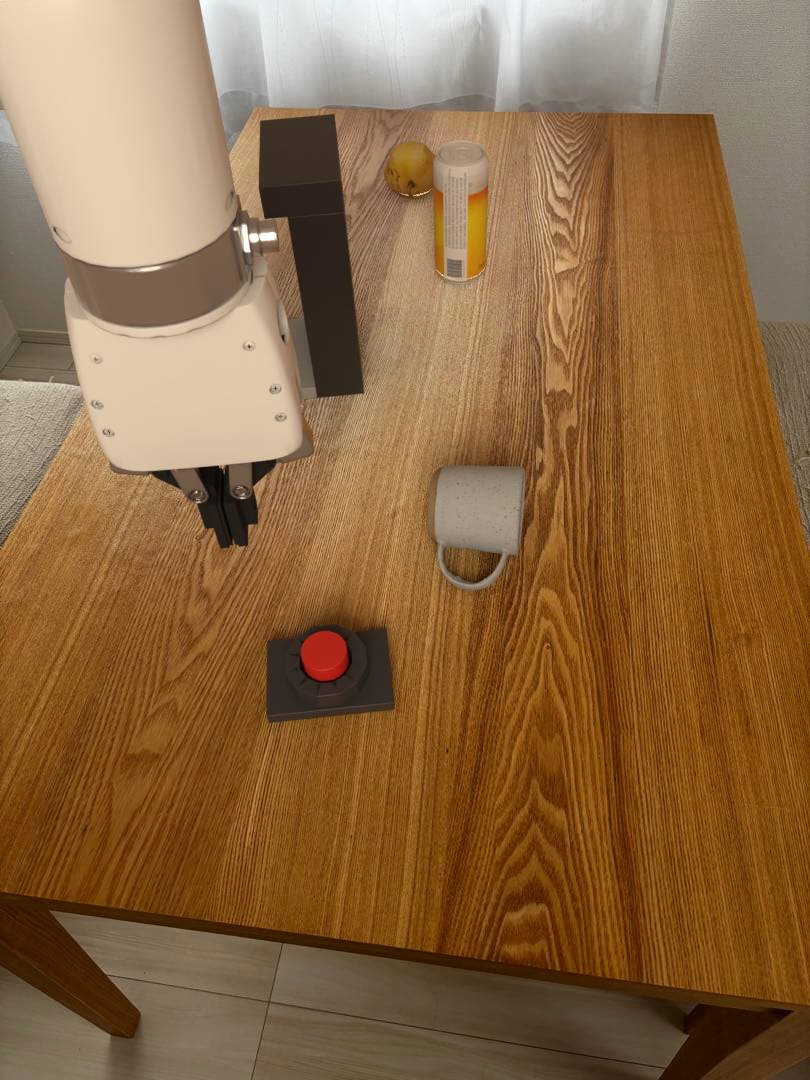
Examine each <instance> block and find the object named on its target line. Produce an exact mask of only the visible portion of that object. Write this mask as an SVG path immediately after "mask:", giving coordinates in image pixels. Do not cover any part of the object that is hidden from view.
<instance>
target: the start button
mask: <svg viewBox="0 0 810 1080" xmlns="http://www.w3.org/2000/svg"><path fill="white" fill-rule="evenodd" d="M301 658H302V661H303V665H304V669H305V671H306V673H307V674H308V675H309V676H310V677H312V678H313V679H315V680H318V681H331V680H334V679H336V678H338V677H339V676H341V675H342V674H343V673H344V672H345V670H346V669H347V667H348V663H349V657H348V651H347V646H346V643H345V641H344V639H343V638H342V637H341V636H340V635H338V634H337V633H334V632H331V631H320V632H317V633H314V634H312V635H311V636H309V637H308V638H307V639H306V640H305V642H304V643H303V645H302V648H301Z"/></svg>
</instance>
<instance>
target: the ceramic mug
mask: <svg viewBox="0 0 810 1080" xmlns="http://www.w3.org/2000/svg"><path fill="white" fill-rule="evenodd" d="M525 488H526V470H525V468H524V467H523V466H517V465H515V466H512V465H511V466H510V465H509V466H507V465H506V466H505V465H471V464H470V465H466V464H451V465H446V466H445V465H444V466H440V467H438V468H437V469H436V470H435V471H434V472H433V474H432V475H431V480H430V484H429V492H428V502H427V531H428V536H429V538H430V539H431V540H432V541H433V543H435V544H437V545H438V548H437V560H438V565H439V566H438V567H439V569H440V573H442V575H443V577H444V578H445V580H447V581H448V583H450V584H451V585H453V586H454V587H456V588H458V589H461V590H465V591H480V590H484V589H486V588H488V587H490V586H491V585H492V584H493V583H495V582H496V581H497V580H498V578H499V577H500V576H501V574H502V572H503V570H504V568H505V565H506V563H507V560H508V557H509V556H517V555H518V554H519V552H520V544H521V540H522V530H523V522H524V509H525V494H526V493H525V492H526V489H525ZM446 548H455V549H465V550H474V551H481V552H485V553H493V554H500V555H501V558H500V560H499V562H498V563H497V565H496V567H495V569H494V570H493V571H492V573H491V574H489V575H488V576H487V577H485V578H483V580H481V581H479V582H473V581H468V580H465V579H463V578H461V577H460V576H459V575H454V574H453V573H452V572H450V571H448V569H447V567H446V566H445V565H446V564H445V558H444V557H445V556H444V554H445V549H446Z"/></svg>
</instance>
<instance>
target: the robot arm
mask: <svg viewBox="0 0 810 1080" xmlns="http://www.w3.org/2000/svg"><path fill="white" fill-rule="evenodd" d="M208 43H209V42H208V39H207V33H206V27H205V22H204V17H203V11H202V7H201V1H200V0H0V111H4V113H5V116H6V118H7V121H8V123H9V127H10V128H11V131H12V134H13V137H14V139H15V142H16V144H17V147H18V150H19V152H20V155H21V157H22V160H23V163H24V165H25V167H26V170H27V173H28V176H29V179H30V181H31V184H32V187H33V189H34V191H35V194H36V196H37V199H38V201H39V204H40V207H41V210H42V212H43V214H44V218H45V220H46V222H47V225H48V228H49V230H50V233H51V237H52V238H53V240H54V242H55V246H56V247H57V250H58V253H59V255H60V256H59V257H60V258H61V261H62V263H63V266H64V269H65V272H66V274H67V277H66V280H65V283H64V295H63V304H64V314H65V322H66V327H67V334H68V338H69V344H70V350H71V354H72V358H73V362H74V368H75V372H76V375H77V379H78V383H79V387H80V391H81V395H82V398H83V401H84V405H85V408H86V412H87V415H88V418H89V420H90V423H91V426H92V429H93V432H94V434H95V438H96V439H97V442H98V444H99V447H100V449H101V450H102V452H103V454H104V456H105V457H106V459H107V460H108V461H109V468H110V470H111V471H112V472H113V473H115V474H118V475H128V476H142V477H150V475H152V476H153V477H154V478H156V479H157V480H159V481H161V482H163V483H166V484H168V485H170V486H172V487H174V488H176V489H179V490H180V491H181V492H182V493H183V495H184V496H185V497H186V500H187V501H188V502H190V503H193V504H196V505H197V508H198V511H199V515H200V517H201V520H202V524H203V527H204V529H205V530H208V529H209V530H210V529H213V531H214V534H215V537H216V540H217V543H218V546H219V547H218V548H219V549H220V550H223V549H230V547H231V546H233V544H234V545H236V546H237V547H239V548H242V547H248V546H249V526H251V525H252V526H253V525H258V524H259V507H258V501H257V496H256V493H255V490H254V487H255V486H256V485H257V484H258V483H259V482H260V481H261V480H263V478H264V477H266V476H267V475H268V474H269V473H270V472H271V471H273V469H274V468H275V467H276V465H277V464H280V463H281V464H282V465H283V464H287V463H290V462H294V461H299V460H302V459H305V458H309V457H311V456H312V455H314V452H315V445H314V444H315V443H314V434H313V431H312V428H311V427H310V425H309V423H308V421H307V419H306V417H305V415H304V413H303V411H302V409H303V408H302V404H303V402H304V399H303V392H302V384H301V377H300V372H299V367H298V362H297V357H296V353H295V348H294V344H293V339H292V335H291V331H290V327H289V323H288V320H289V318H288V315H287V312H286V309H285V306H284V302H283V299H282V295H281V293H280V290H279V288H278V284H277V282H276V280H275V277H274V274H273V272H272V270H271V267H270V265H269V263H268V260H267V259H266V257H265V255H264V254H270V253H279V252H280V250H281V248H280V247H281V246H280V237H279V235H280V234H279V228H278V223H277V218H272V219H259V217H258V216H257V217H250V215H249V212H248V209H242V204H241V197H240V194H236V188H235V182H234V177H233V172H232V166H231V161H230V155H229V149H228V144H227V139H226V133H225V129H224V128H225V127H224V124H223V123H224V122H223V117H222V111H221V107H220V101H219V95H218V91H217V85H216V81H215V75H214V74H215V73H214V70H213V63H212V59H211V54H210V49H209V44H208ZM220 466H225V467H224V468H223V467H220Z"/></svg>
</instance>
